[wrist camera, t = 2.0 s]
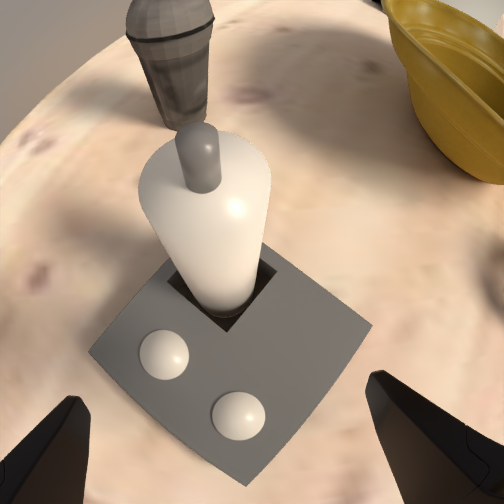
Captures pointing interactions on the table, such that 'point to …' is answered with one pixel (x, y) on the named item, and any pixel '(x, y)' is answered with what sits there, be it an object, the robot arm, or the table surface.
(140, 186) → the white lotion bottle
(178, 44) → the beverage cup
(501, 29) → the milk
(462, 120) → the planter bowl
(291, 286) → the charging dock
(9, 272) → the table surface
